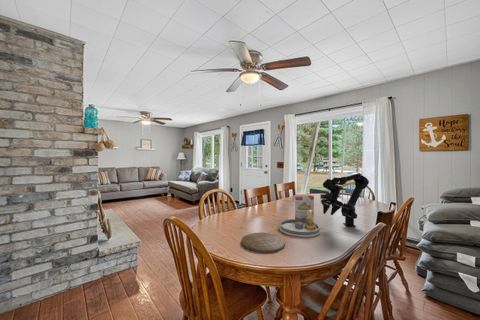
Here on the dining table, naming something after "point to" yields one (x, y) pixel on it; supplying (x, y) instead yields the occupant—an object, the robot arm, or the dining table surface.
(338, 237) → the dining table surface
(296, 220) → the round grey tray
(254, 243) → the trivet
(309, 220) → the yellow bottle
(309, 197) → the cracker box
